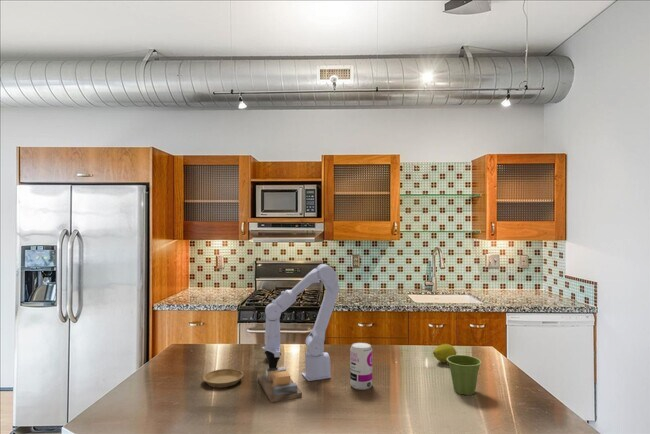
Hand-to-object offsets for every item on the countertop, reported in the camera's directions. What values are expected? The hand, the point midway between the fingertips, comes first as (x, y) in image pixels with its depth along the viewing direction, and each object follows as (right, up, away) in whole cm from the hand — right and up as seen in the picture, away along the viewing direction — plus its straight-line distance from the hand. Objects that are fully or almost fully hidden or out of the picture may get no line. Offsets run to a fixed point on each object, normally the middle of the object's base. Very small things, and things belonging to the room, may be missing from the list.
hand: (272, 370), depth 156 cm
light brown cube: (+5, -2, -13) cm, 14 cm away
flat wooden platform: (+3, -3, -9) cm, 10 cm away
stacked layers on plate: (-3, -4, +23) cm, 24 cm away
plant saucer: (-18, -4, -2) cm, 19 cm away
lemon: (+72, -4, +19) cm, 75 cm away
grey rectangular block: (+2, -2, -5) cm, 5 cm away
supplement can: (+34, -4, -6) cm, 35 cm away
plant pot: (+70, -3, -11) cm, 71 cm away
